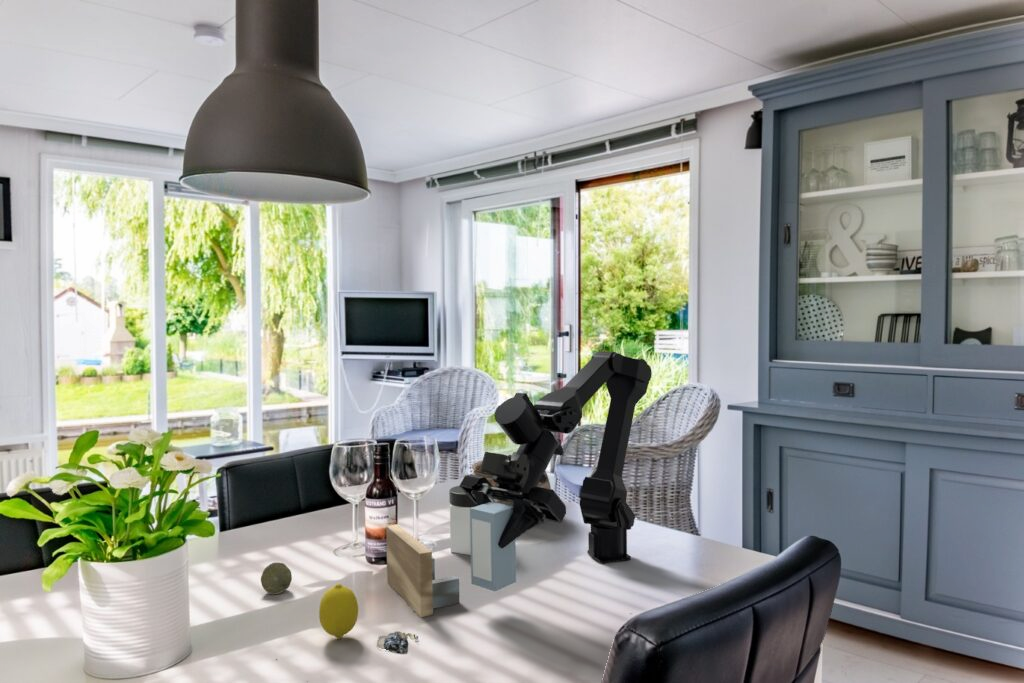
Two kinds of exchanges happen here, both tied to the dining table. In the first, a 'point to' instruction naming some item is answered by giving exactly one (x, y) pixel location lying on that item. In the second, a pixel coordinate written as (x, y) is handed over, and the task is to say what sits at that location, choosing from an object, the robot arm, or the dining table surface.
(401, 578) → the wooden bookend
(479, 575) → the light blue tall block
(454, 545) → the jar
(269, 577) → the lime
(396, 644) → the blueberries
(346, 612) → the lemon
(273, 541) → the dining table surface
